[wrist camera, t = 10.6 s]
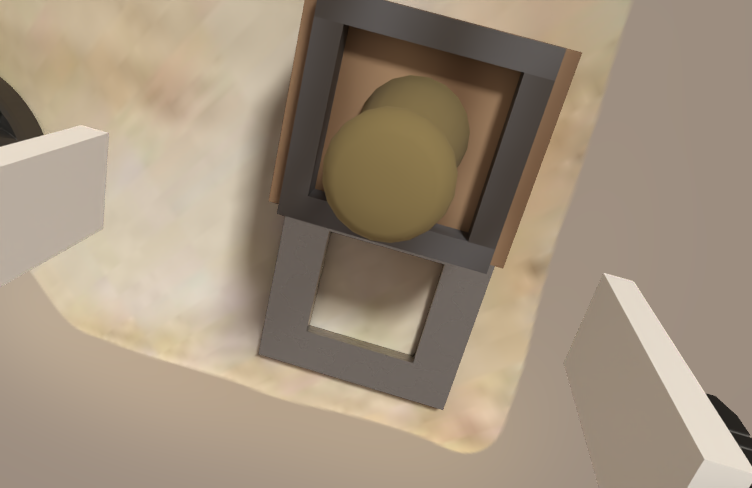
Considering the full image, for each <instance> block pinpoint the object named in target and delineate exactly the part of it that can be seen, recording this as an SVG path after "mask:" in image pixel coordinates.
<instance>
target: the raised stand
mask: <svg viewBox="0 0 752 488" xmlns="http://www.w3.org/2000/svg"><path fill="white" fill-rule="evenodd" d="M581 54H582V53H581V52H578V51H574V50H570V49H567V48H563V47H560V46H556V45H552V44H549V43H545V42H541V41H537V40H533V39H530V38H526V37H522V36H518V35H515V34H511V33H507V32H503V31H500V30H496V29H492V28H488V27H484V26H481V25H477V24H473V23H469V22H466V21H462V20H458V19H454V18H451V17H447V16H443V15H439V14H435V13H432V12H428V11H424V10H420V9H417V8H413V7H409V6H405V5H402V4H398V3H394V2H390V1H387V0H305V2H304V7H303V13H302V18H301V24H300V29H299V35H298V41H297V46H296V52H295V57H294V63H293V68H292V74H291V79H290V85H289V91H288V96H287V102H286V107H285V113H284V118H283V124H282V129H281V135H280V141H279V146H278V152H277V157H276V163H275V168H274V174H273V179H272V185H271V191H270V196H269V201H270V202H274V203H277V204H279V205H278V211H277V214H280V215H283V216H287V217H290V218H294V219H297V220H301V221H304V222H307V223H311V224H314V225H318V226H321V227H325V228H328V229H332V230H335V231H339V232H342V233H346V234H349V235H352V236H356V237H359V238H363V239H366V240H369V239H367V238H365V237H363V236H360V235H358V234H356V233H354V232H352V231H351V230H350V229H349V228H348V227H347V226H345V225H344V224H343V223H342V222H341V221H340V220H339V219H338V218H337V217H336V215H335V213H334V212H333V210H332V209H331V207H330V205H329V204H328V202H327V199H326V195H325V191H324V187H323V183H322V177H323V160H324V156H325V154H326V151H327V149H328V146H329V144H330V141H331V139H332V138H333V137H334V135H335V134H336V133H337V132H338V131H339V130H340V128H341V127H342V126H343V125H344V124H345V123H346V122H347V121H349V120H351V119H352V118H354V117H356V116H357V115H359V114H360V113H361V111H362V108H363V106H364V104H365V102H366V100H367V99H368V98H369V97H370V96H371V95H372V93H373V92H374V91H375V90H376V89H377V88H378V87H380V86H381V85H383V84H385V83H386V82H388V81H390V80H391V79H394V78H399V77H404V76H408V75H414V76H423V77H429V78H431V79H434V80H436V81H438V82H440V83H442V84H444V85H446V86H447V87H448V88H449V89H450V90H451V91H452V92H453V93H454V94H455V95H456V96H457V97H458V98H459V100H460V102H461V104H462V105H463V107H464V109H465V111H466V113H467V117H468V123H469V129H470V134H469V141H468V147H467V151H466V153H465V155H464V157H463V159H462V161H461V163H460V165H459V166H458V167H457V171H458V176H457V182H456V189H455V196H454V198H453V200H452V202H451V204H450V206H449V208H448V210H447V212H446V214H445V215H444V216H443V217H442V218H441V219H440V220H439V221H438V222H437V223H436V224H435V225H434V226H433V227H432V228H431V229H430V230H428V231H427V232H425V233H423V234H421V235H419V236H417V237H415V238H413V239H411V240H406V241H400V242H394V243H387V242H380V241H373V240H370V241H373V242H377V243H380V244H384V245H387V246H391V247H394V248H398V249H401V250H404V251H408V252H411V253H415V254H418V255H422V256H425V257H429V258H432V259H436V260H439V261H443V262H446V263H449V264H453V265H456V266H460V267H463V268H467V269H470V270H474V271H477V272H481V273H484V274H487V272H488V269H489V266H490V265H493V266H496V267H500V268H503V267H504V265H505V262H506V259H507V256H508V254H509V251H510V248H511V245H512V243H513V240H514V237H515V234H516V232H517V229H518V226H519V224H520V221H521V218H522V215H523V213H524V210H525V207H526V204H527V202H528V199H529V196H530V194H531V191H532V188H533V185H534V183H535V180H536V177H537V174H538V172H539V169H540V166H541V163H542V161H543V158H544V155H545V153H546V150H547V147H548V144H549V142H550V139H551V136H552V133H553V131H554V128H555V125H556V123H557V120H558V117H559V114H560V112H561V109H562V106H563V103H564V101H565V98H566V95H567V92H568V90H569V87H570V84H571V82H572V79H573V76H574V73H575V71H576V68H577V65H578V62H579V60H580V57H581Z"/></svg>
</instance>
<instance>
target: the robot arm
mask: <svg viewBox="0 0 752 488" xmlns="http://www.w3.org/2000/svg"><path fill="white" fill-rule="evenodd" d="M108 141H109V133H108V132H104V131H101V130H97V129H94V128H90V127H87V126H83V125H80V126H76V127H72V128H68V129H65V130H61V131H57V132H54V133H50V134H46V135H43V133H42V130H41V128H40V126H39V124H38V122H37V120H36V118H35V117H34V115H33V113H32V112H31V110H30V109H29V107H28V106H27V104H26V103H25V102H24V100H23V99H22V98H21V97H20V96H19V94H18V93H17V92H16V91H15V90H14V89H13V88H12V87H11V86H10V85H9V84H8V83H7V82H6V81H4V80H3V79H2V78H1V77H0V287H2V286H3V285H5V284H7V283H9V282H10V281H12V280H14V279H16V278H17V277H19V276H21V275H23V274H24V273H26V272H28V271H30V270H31V269H33V268H35V267H37V266H38V265H40V264H42V263H44V262H46V261H47V260H49V259H51V258H53V257H54V256H56V255H58V254H60V253H61V252H63V251H65V250H67V249H68V248H70V247H72V246H74V245H75V244H77V243H79V242H81V241H82V240H84V239H86V238H88V237H89V236H91V235H93V234H95V233H96V232H98V231H100V230H102V229H103V221H104V205H105V189H106V173H107V157H108ZM564 366H565V370H566V373H567V377H568V380H569V384H570V387H571V391H572V395H573V398H574V402H575V405H576V409H577V412H578V416H579V419H580V423H581V426H582V430H583V434H584V437H585V440H586V444H587V448H588V451H589V455H590V458H591V462H592V465H593V469H594V473H595V476H596V480H597V483H598V487H599V488H752V438H750V437H749V436H750V434H749V432H748V431H747V430H746V428H745V427H744V425H743V424H742V422H741V421H740V419H739V418H738V416H737V415H736V414H735V413H734V412H732V411H731V410H730V409H729V408H728V407H727V406H726V405H725V404H724V403H723V402H721V401H720V400H719V399H718V398H717V397H716V396H713V395H710V394H706V393H705V392H704V391H703V389H702V387H701V386H700V384H699V383H698V381H697V380H696V378H695V377H694V375H693V373H692V372H691V370H690V369H689V367H688V366H687V364H686V362H685V361H684V359H683V358H682V356H681V355H680V353H679V352H678V350H677V348H676V347H675V345H674V344H673V342H672V341H671V339H670V337H669V336H668V334H667V333H666V331H665V330H664V328H663V326H662V325H661V323H660V322H659V320H658V319H657V317H656V316H655V314H654V312H653V311H652V309H651V308H650V306H649V305H648V303H647V301H646V300H645V298H644V297H643V295H642V294H641V292H640V290H639V289H638V287H637V286H636V284H635V283H634V281H631V280H627V279H624V278H620V277H617V276H613V275H610V274H606V273H603V275H602V277H601V280H600V282H599V284H598V287H597V289H596V291H595V293H594V295H593V298H592V300H591V302H590V305H589V307H588V309H587V311H586V314H585V316H584V318H583V320H582V322H581V325H580V327H579V329H578V332H577V334H576V336H575V338H574V341H573V343H572V345H571V347H570V350H569V352H568V354H567V356H566V359H565V361H564Z"/></svg>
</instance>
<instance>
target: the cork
mask: <svg viewBox="0 0 752 488" xmlns="http://www.w3.org/2000/svg"><path fill="white" fill-rule="evenodd" d="M469 134H470V129H469V123H468V117H467V113H466V111H465V109H464V107H463V105H462V104H461V102H460V100H459V98H458V97H457V96H456V95H455V94H454V93H453V92H452V91H451V90H450V89H449V88H448V87H447V86H446V85H444V84H442V83H440V82H438V81H436V80H434V79H431V78H429V77H423V76H414V75H408V76H404V77H399V78H394V79H391V80H390V81H388V82H386V83H385V84H383V85H381V86H380V87H378V88H377V89H376V90H375V91H374V92H373V93H372V95H371V96H370V97H369V98H368V99H367V100H366V102H365V104H364V106H363V108H362V111H361V113H360V114H359V115H357V116H356V117H354V118H352V119H351V120H349V121H347V122H346V123H345V124H344V125H343V126H342V127H341V128H340V130H339V131H338V132H337V133H336V134H335V135H334V137H333V138H332V139H331V141H330V144H329V146H328V149H327V151H326V154H325V156H324V160H323V177H322V183H323V187H324V191H325V195H326V199H327V202H328V204H329V205H330V207H331V209H332V210H333V212H334V213H335V215H336V217H337V218H338V219H339V220H340V221H341V222H342V223H343V224H344V225H345V226H347V227H348V228H349V229H350V230H351V231H352V232H354V233H356V234H358V235H360V236H363V237H365V238H367V239H369V240H373V241H380V242H387V243H394V242H400V241H406V240H411V239H413V238H415V237H417V236H419V235H421V234H423V233H425V232H427V231H428V230H430V229H431V228H432V227H433V226H434V225H435V224H436V223H437V222H438V221H439V220H440V219H441V218H442V217H443V216H444V215H445V214H446V212H447V210H448V208H449V206H450V204H451V202H452V200H453V198H454V196H455V189H456V182H457V176H458V171H457V167H458V166H459V165H460V163H461V161H462V159H463V157H464V155H465V153H466V151H467V147H468V141H469Z"/></svg>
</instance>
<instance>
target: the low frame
mask: <svg viewBox="0 0 752 488" xmlns="http://www.w3.org/2000/svg"><path fill="white" fill-rule="evenodd" d="M331 232H334V233H337V234H341V235H344V236H348V237H351V238H355V239H358V240H362V241H365V242H369V243H372V244H375V245H379V246H382V247H386V248H389V249H393V250H396V251H400V252H403V253H407V254H410V255H414V256H417V257H420V258H424V259H427V260H431V261H434V262H438V263H441V264H444V265H443V269H442V272H441V275H440V278H439V281H438V284H437V287H436V290H435V294H434V297H433V300H432V303H431V306H430V309H429V312H428V315H427V318H426V322H425V325H424V328H423V331H422V334H421V337H420V340H419V343H418V347H417V350H416V353H415V356H411V355H408V354H404V353H401V352H398V351H394V350H391V349H387V348H384V347H381V346H377V345H374V344H371V343H367V342H364V341H361V340H357V339H354V338H351V337H347V336H344V335H341V334H337V333H334V332H330V331H327V330H324V329H320V328H317V327H314V326H310V321H311V316H312V312H313V308H314V303H315V299H316V295H317V290H318V286H319V282H320V277H321V273H322V269H323V264H324V260H325V256H326V251H327V247H328V243H329V238H330V234H331ZM494 267H495V266H493V265H490V266H489V269H488V272H487V274H484V273H481V272H477V271H474V270H470V269H467V268H463V267H460V266H456V265H453V264H449V263H446V262H443V261H439V260H436V259H432V258H429V257H425V256H422V255H418V254H415V253H411V252H408V251H404V250H401V249H398V248H394V247H391V246H387V245H384V244H380V243H377V242H373V241H370V240H366V239H363V238H359V237H356V236H352V235H349V234H346V233H342V232H339V231H335V230H332V229H328V228H325V227H321V226H318V225H314V224H311V223H307V222H304V221H301V220H297V219H294V218H290V217H287V216H285V220H284V225H283V230H282V236H281V241H280V246H279V251H278V256H277V261H276V266H275V272H274V277H273V282H272V287H271V292H270V297H269V303H268V308H267V313H266V318H265V323H264V328H263V333H262V339H261V344H260V349H259V355H263V356H266V357H269V358H273V359H276V360H279V361H283V362H286V363H289V364H292V365H296V366H299V367H302V368H306V369H309V370H312V371H316V372H319V373H322V374H326V375H329V376H332V377H335V378H339V379H342V380H345V381H349V382H352V383H355V384H359V385H362V386H365V387H368V388H372V389H375V390H378V391H382V392H385V393H388V394H392V395H395V396H398V397H401V398H405V399H408V400H411V401H415V402H418V403H421V404H425V405H428V406H431V407H435V408H438V409H441V410H443V409H444V406H445V403H446V400H447V398H448V395H449V392H450V389H451V386H452V384H453V381H454V378H455V375H456V372H457V370H458V367H459V364H460V361H461V359H462V356H463V353H464V350H465V347H466V345H467V342H468V339H469V336H470V334H471V331H472V328H473V325H474V322H475V320H476V317H477V314H478V311H479V308H480V306H481V303H482V300H483V297H484V295H485V292H486V289H487V286H488V283H489V281H490V278H491V275H492V272H493V270H494Z"/></svg>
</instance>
